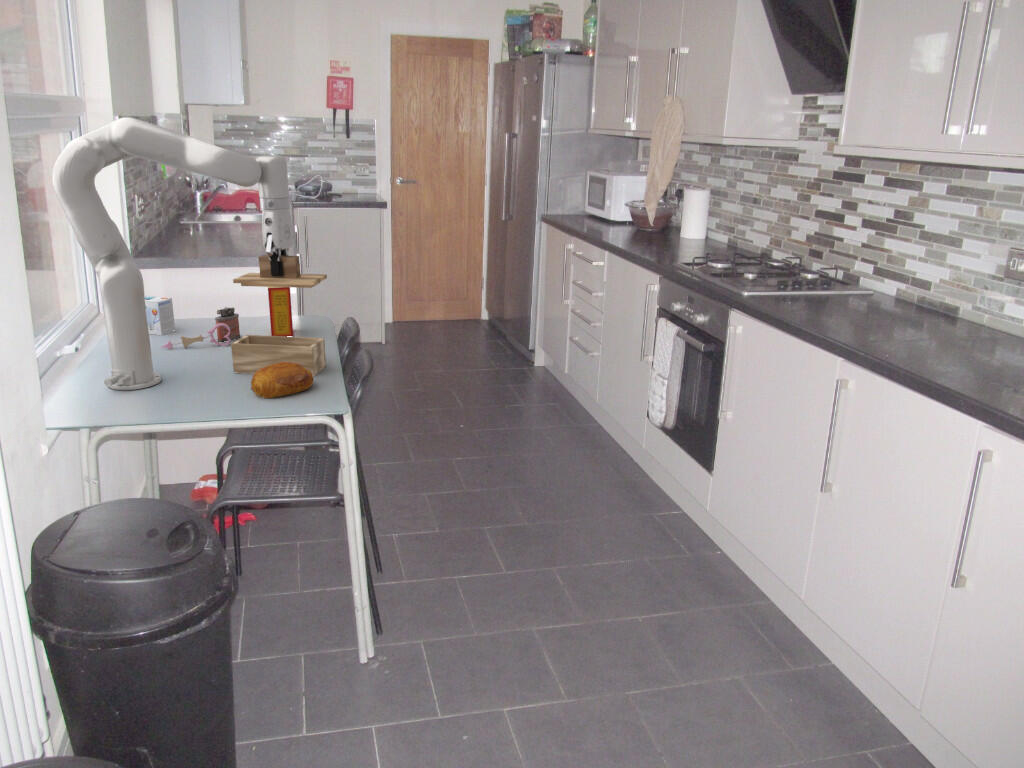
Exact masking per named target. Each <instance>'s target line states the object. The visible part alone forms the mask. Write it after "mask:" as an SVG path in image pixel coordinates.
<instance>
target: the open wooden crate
mask: <svg viewBox="0 0 1024 768" xmlns="http://www.w3.org/2000/svg"><path fill="white" fill-rule="evenodd" d="M230 347H231V358H232V367H233V373H234V372H237V373H236V374H242V373H249V374H248V375H254V374H255V373H256V372H257V371H258V370H259V369H261V368H263V367H266V366H269V365H272V364H275V363H280V362H290V363H297V364H300V365H301V366H302V367H304V368H305V369H308V370H309V371H310V372H311V373H312V377H313V378H314V377H316V376H317V375H318V374H319V373H320V372H321V371H322V370H324V369H325V368H326V367H327V363H326V362H327V359H326V342H325V337H309V336H293V337H287V336H271V335H260V334H259V335H256V334H246V335H243V336H242V337H241V338H240V339H237V340H235V341H234V342H232V343H231V344H230Z"/></svg>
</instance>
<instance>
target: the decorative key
mask: <svg viewBox="0 0 1024 768" xmlns="http://www.w3.org/2000/svg"><path fill="white" fill-rule="evenodd" d="M219 326H225V327H226V328H227V329H228V331H229V332H228V334H227V335H225V336H224V337H225V338H227V339H228V342H224V343H219V342H217V339H216V338H215V336H214V332H215V331H216V330H217V328H218V327H219ZM206 332H207V334H209V335H205V336H203V335H202V334H200V335H198V336H195V337H194V336H193V337H187V336H183V335H181V336H180V338H181V339H180V341H178V342H172V341H171V340H169V341H168V342H167V343H166V344H164V345H162V346H161V348H166V349H171V348H173V346H177V345H178V346H179V345H182V346H183V348H184V349H186V348H187V347H189V346H190V345H192V344H193V343H194V344H195V343H196V342H200V343H201V342H204V340H206V339H210V338H211V339H210V340H209V342H210V343H212V344H215V345H217V346H219V345H226V344H227V345H226V346H228V345H229V344H230V342H231V341H230V338H229V337H228V336H229V334H230V328H229V326H228V325H226V324H224V323H220V324H217V325H216V324H215V326H213V328H211V329H210V330H207V331H206ZM171 350H172V349H171Z"/></svg>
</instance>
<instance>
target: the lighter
mask: <svg viewBox="0 0 1024 768" xmlns="http://www.w3.org/2000/svg"><path fill="white" fill-rule="evenodd" d="M235 310H236V309H235V307H224V308H220V309H217V310H216V314H217V315H219V316H217V317H216V316H215V317H214V321H215V326H216V325H217V324H220V323H224V324H226V325H228V326H229V328H230V334H229V336H228V337H229V338H230V340H233V341H235V340H234V339H237V340H239V339H238V338H240V337H241V333H240V322H239V317H240V316H239V313H237V312H236V313H235ZM228 332H229V331H228V329H227V328H226V327H225V326H219V327H218V328H216V334H217V339H216V341H218V342H224V341H228V339H227V338H225V337H224V336H225V335H227V334H228ZM241 338H242V337H241ZM241 338H240V339H241ZM224 343H225V342H224Z"/></svg>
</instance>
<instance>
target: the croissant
mask: <svg viewBox="0 0 1024 768" xmlns="http://www.w3.org/2000/svg"><path fill="white" fill-rule="evenodd" d="M250 382H251V383H250V385H251V388H250V390H251V391H252V392H253V391H254V394H256V395H257V396H259V397H262V398H263V397H264V399H275V398H279V397H280V398H281V397H285V396H289V395H290V396H291V395H294V394H297V393H300V392H304V391H305V390H308V389H310V388H311V387H312V386H313V384H314V377H312V373H311V372H310V371H309V370H308V369H305V368H304V367H302V366H301V365H300V364H297V363H290V362H280V363H275V364H272V365H269V366H266V367H263V368H261V369H259V370H258V371H257V372H256V373H255V374H253V376H252V378H251V381H250Z"/></svg>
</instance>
